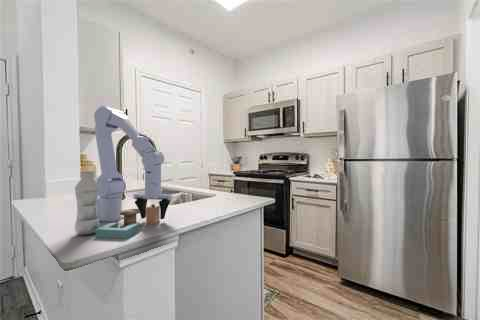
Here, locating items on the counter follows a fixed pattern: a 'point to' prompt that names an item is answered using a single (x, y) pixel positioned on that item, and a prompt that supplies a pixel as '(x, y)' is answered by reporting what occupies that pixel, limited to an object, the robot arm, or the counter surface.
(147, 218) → the plug
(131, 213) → the bobbin
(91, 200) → the plastic bottle
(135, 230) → the notch board
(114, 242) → the counter surface
